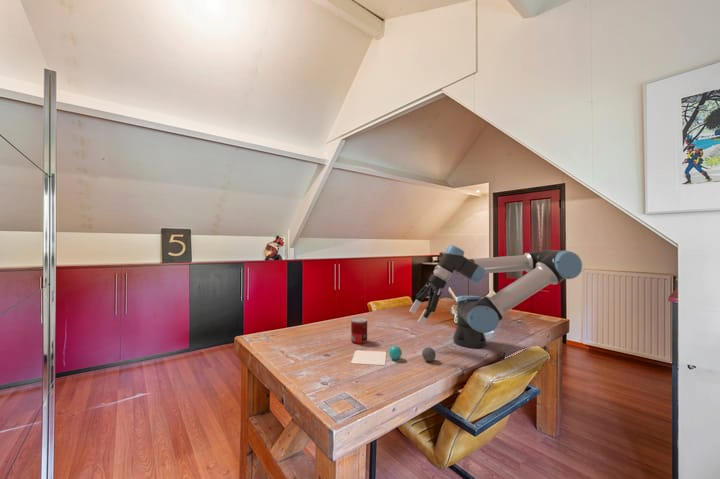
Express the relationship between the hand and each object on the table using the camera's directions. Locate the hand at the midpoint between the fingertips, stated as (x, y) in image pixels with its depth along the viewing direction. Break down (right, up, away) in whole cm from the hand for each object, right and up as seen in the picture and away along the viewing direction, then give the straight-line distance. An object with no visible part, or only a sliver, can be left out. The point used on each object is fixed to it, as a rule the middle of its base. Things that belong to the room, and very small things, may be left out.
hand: (415, 317), depth 134 cm
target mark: (-21, -15, -7) cm, 27 cm away
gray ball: (+4, -13, -10) cm, 17 cm away
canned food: (-26, -16, +13) cm, 33 cm away
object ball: (-10, -13, -8) cm, 18 cm away
